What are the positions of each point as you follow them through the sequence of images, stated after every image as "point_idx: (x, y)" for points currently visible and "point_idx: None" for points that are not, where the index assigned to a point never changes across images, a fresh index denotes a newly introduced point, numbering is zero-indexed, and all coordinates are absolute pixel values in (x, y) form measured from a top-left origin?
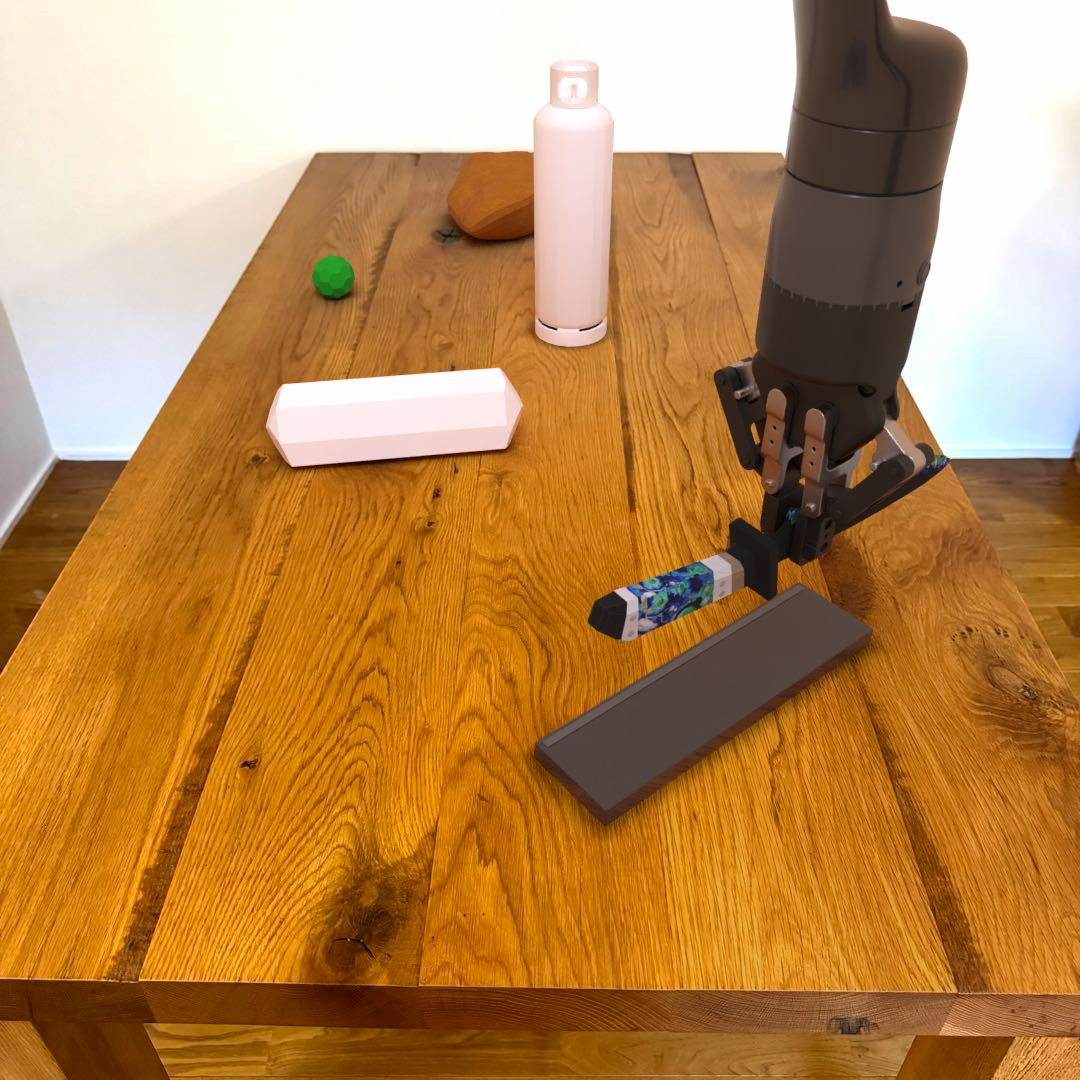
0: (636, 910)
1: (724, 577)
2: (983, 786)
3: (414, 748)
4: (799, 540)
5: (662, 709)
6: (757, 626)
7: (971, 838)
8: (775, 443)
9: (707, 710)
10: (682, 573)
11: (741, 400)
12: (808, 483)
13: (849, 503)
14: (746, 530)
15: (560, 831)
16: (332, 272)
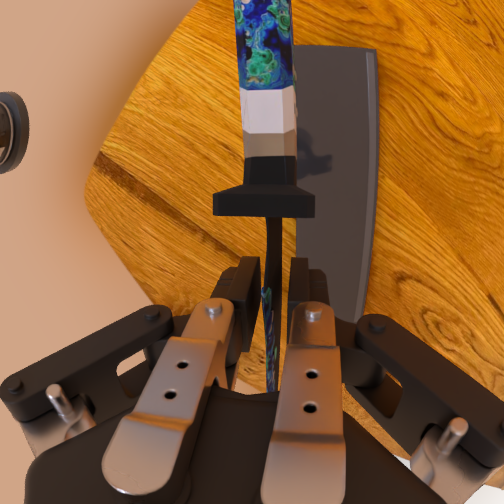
0: (227, 28)
1: (241, 111)
2: (172, 268)
3: (424, 8)
4: (240, 273)
5: (343, 144)
6: (354, 268)
7: (151, 232)
8: (299, 375)
9: (319, 170)
10: (263, 33)
11: (446, 420)
12: (216, 338)
13: (123, 331)
14: (273, 200)
15: (307, 25)
16: None
